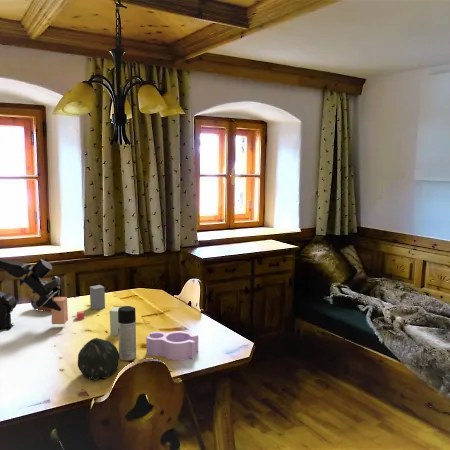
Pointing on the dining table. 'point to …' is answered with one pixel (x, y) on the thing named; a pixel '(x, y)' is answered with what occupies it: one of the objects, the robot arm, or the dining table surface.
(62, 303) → the salmon pink pillar
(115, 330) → the pale grey tall block
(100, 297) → the tall grey pillar
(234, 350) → the dining table surface
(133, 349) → the spray can
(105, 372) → the squash
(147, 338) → the clip
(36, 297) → the tin
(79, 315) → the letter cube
